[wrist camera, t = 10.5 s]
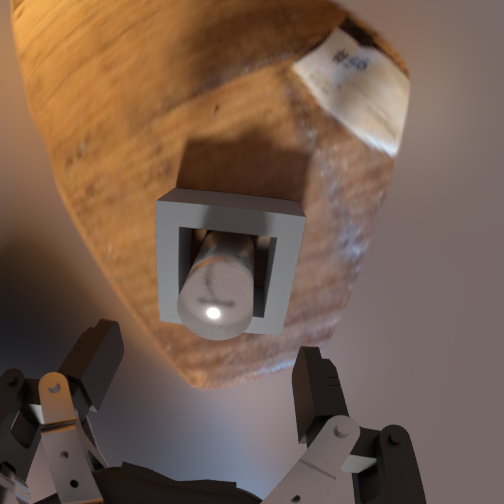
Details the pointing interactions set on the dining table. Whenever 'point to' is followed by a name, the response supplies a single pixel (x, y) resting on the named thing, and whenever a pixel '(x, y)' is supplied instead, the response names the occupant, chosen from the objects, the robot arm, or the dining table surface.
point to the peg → (219, 287)
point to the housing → (238, 221)
